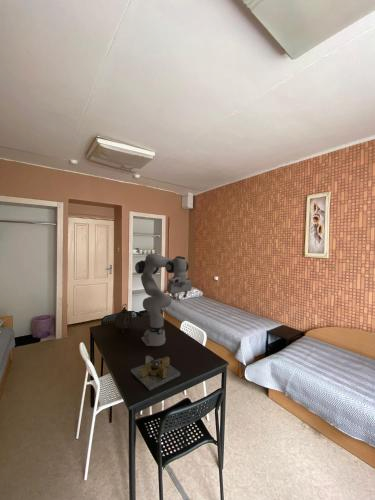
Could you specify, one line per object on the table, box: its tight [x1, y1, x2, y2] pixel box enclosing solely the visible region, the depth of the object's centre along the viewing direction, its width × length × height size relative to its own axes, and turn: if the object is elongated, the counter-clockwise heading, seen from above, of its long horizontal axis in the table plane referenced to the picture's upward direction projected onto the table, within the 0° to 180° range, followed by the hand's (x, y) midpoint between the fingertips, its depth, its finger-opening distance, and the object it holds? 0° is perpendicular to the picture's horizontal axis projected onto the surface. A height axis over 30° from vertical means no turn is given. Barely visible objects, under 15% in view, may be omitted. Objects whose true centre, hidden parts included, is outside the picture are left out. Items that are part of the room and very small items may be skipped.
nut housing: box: [130, 357, 181, 391], centre depth 133 cm, size 22×22×7 cm
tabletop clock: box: [115, 303, 133, 334], centre depth 202 cm, size 14×9×25 cm, turn 162°
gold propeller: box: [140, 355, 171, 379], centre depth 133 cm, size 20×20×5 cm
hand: (179, 298), depth 153 cm, fingers open, 8 cm apart
